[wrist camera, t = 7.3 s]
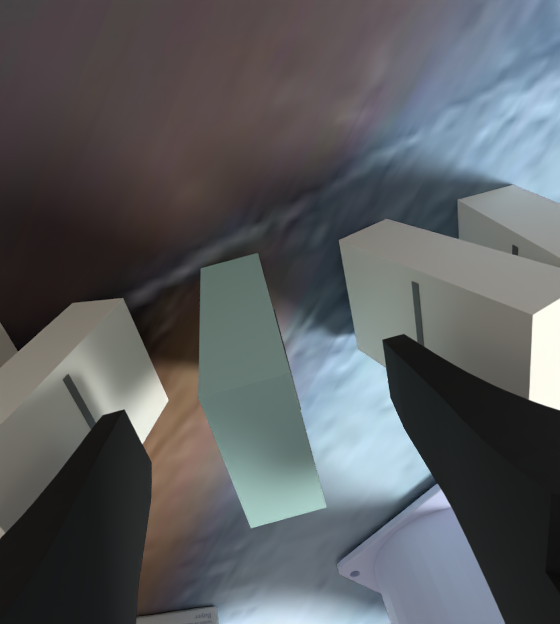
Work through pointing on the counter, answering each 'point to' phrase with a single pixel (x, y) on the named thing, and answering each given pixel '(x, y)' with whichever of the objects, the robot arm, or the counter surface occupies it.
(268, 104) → the counter surface
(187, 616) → the medicine box
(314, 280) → the counter surface
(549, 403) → the domino
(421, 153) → the counter surface
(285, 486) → the domino
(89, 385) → the domino
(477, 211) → the domino
